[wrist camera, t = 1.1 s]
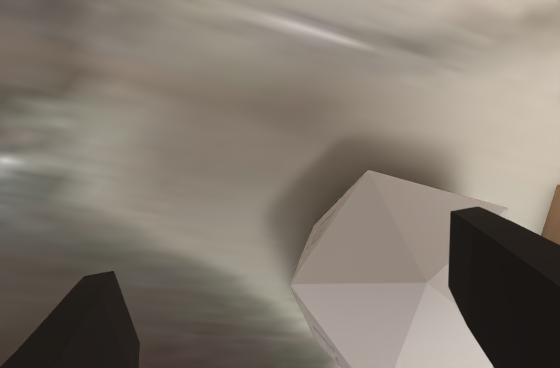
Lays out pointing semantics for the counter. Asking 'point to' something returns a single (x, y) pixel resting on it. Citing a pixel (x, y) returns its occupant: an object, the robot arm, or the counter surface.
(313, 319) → the pale grey faceted polyhedron
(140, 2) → the counter surface
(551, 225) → the walnut block
